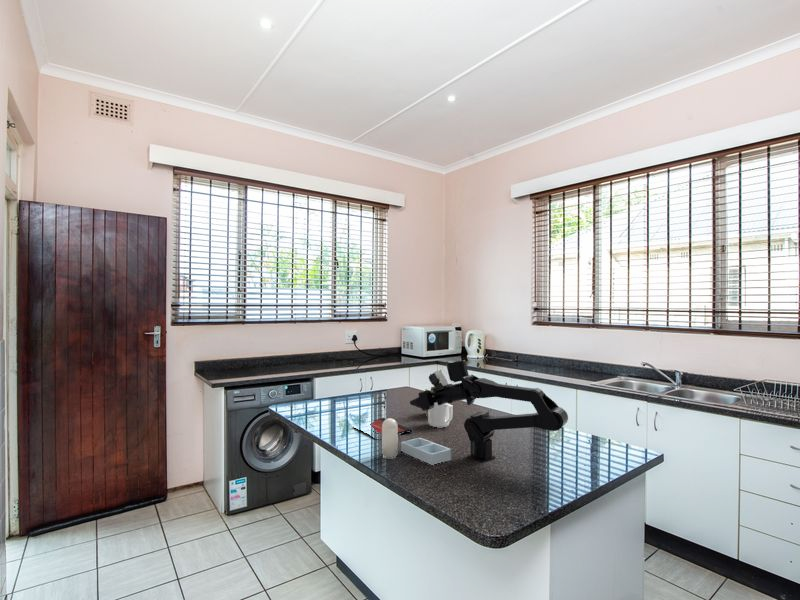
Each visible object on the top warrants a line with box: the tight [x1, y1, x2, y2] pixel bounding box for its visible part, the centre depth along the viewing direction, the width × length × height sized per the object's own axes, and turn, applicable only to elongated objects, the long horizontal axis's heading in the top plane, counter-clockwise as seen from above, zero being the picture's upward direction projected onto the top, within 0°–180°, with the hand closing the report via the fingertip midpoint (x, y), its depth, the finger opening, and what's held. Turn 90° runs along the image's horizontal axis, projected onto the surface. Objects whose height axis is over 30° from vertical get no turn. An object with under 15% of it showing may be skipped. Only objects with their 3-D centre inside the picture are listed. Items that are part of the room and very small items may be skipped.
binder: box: [370, 417, 413, 434], centre depth 172 cm, size 16×2×21 cm
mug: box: [427, 402, 454, 429], centre depth 178 cm, size 12×9×11 cm
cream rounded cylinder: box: [381, 417, 399, 457], centre depth 142 cm, size 5×5×13 cm
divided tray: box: [400, 437, 452, 466], centre depth 142 cm, size 16×8×4 cm, turn 38°
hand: (417, 400), depth 155 cm, fingers open, 9 cm apart
